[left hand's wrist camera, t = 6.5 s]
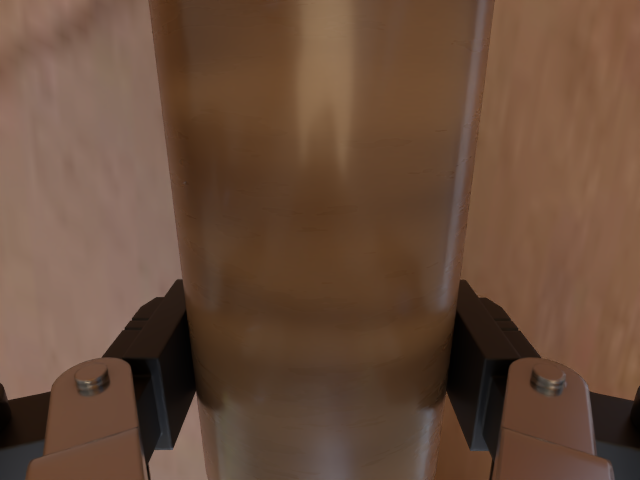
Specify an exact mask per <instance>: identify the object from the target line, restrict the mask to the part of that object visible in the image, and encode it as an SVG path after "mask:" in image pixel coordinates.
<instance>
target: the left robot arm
mask: <svg viewBox="0 0 640 480" xmlns="http://www.w3.org/2000/svg"><path fill="white" fill-rule="evenodd" d="M446 391H447V394H448V396H449V399H450V401H451V404H452V406H453V409H454V411H455V414H456V416H457V419H458V421H459V424H460V426H461V429H462V431H463V434H464V436H465V438H466V441H467V443H468V446H469V448H470V451H489V452H490V454H491V456H492V463H491V469H490V475H489V480H640V386H639V388H638V390H637V393H636V396H635V400H634V401H631V400H626V399H622V398H617V397H612V396H607V395H602V394H598V393H593V392H590V391H589V388H588V385H587V384H586V382H585V381H584V379H583V378H582V377H581V376H580V375H579V374H577V373H576V372H575V371H573V370H572V369H570V368H568V367H566V366H564V365H562V364H560V363H557V362H555V361H551V360H548V359H543V358H541V357H540V355H539V354H538V353H537V352H536V350H535V349H534V348H533V347H532V345H531V344H530V343H529V341H528V340H527V339H526V338H525V336H524V335H523V334H522V333H521V331H518V328H517V326H516V325H515V324H514V322H513V321H511V319H510V317H509V316H508V315H507V314H506V312H505V311H504V310H503V309H502V307H500V306H498V305H497V304H495V303H494V302H492V301H490V300H489V299H487V298H478V296H477V295H476V294H475V292H474V291H473V289H472V288H471V287H470V285H469V284H468V283H467V281H466V280H460V283H459V291H458V299H457V307H456V315H455V323H454V331H453V339H452V347H451V355H450V363H449V371H448V379H447V387H446ZM195 392H196V385H195V377H194V368H193V360H192V352H191V344H190V336H189V327H188V319H187V311H186V303H185V295H184V286H183V279H178V280H176V281H175V283H174V284H173V286H172V287H171V288H170V290H169V291H168V293H167V294H166V295H165V297H156V298H154V299H153V300H151V301H150V302H148V303H147V304H145V305H143V306H142V307H141V308H140V309H139V310H138V311H137V313H136V314H135V315H134V317H133V318H132V321H130V322H129V323H128V324H127V326H126V327H125V330H123V331H122V332H121V333H120V335H119V336H118V337H117V338H116V340H115V341H114V342H113V343H112V345H111V346H110V347H109V349H108V350H107V351H106V352H105V354H104V355H103V356H102V358H97V359H92V360H89V361H85V362H83V363H80V364H78V365H76V366H74V367H72V368H70V369H68V370H67V371H65V372H64V373H63V374H61V375H60V376H59V377H58V378H57V379H56V381H55V382H54V384H53V385H52V388H51V391H50V392H46V393H42V394H37V395H32V396H27V397H22V398H17V399H12V400H8V399H7V396H6V393H5V390H4V387H3V385H2V384H1V383H0V480H151V475H150V469H149V461H150V458H151V456H152V454H153V452H154V450H173V448H174V445H175V443H176V440H177V437H178V435H179V432H180V430H181V427H182V425H183V422H184V420H185V417H186V415H187V412H188V410H189V407H190V405H191V402H192V399H193V397H194V394H195Z"/></svg>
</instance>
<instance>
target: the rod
mask: <svg viewBox="0 0 640 480" xmlns="http://www.w3.org/2000/svg"><path fill="white" fill-rule="evenodd" d="M494 2H495V0H149V7H150V16H151V24H152V32H153V40H154V48H155V57H156V65H157V73H158V81H159V89H160V98H161V106H162V114H163V122H164V131H165V139H166V147H167V155H168V163H169V172H170V180H171V188H172V196H173V204H174V213H175V221H176V229H177V237H178V245H179V254H180V262H181V270H182V278H183V286H184V295H185V303H186V311H187V319H188V327H189V336H190V344H191V352H192V360H193V368H194V377H195V385H196V393H197V401H198V409H199V418H200V426H201V434H202V442H203V450H204V459H205V467H206V473H207V477H208V480H434V477H435V473H436V467H437V459H438V451H439V443H440V435H441V427H442V419H443V411H444V403H445V395H446V387H447V379H448V371H449V363H450V355H451V347H452V339H453V331H454V323H455V315H456V307H457V299H458V291H459V283H460V275H461V267H462V259H463V251H464V243H465V235H466V226H467V218H468V210H469V202H470V194H471V186H472V178H473V170H474V162H475V154H476V146H477V138H478V130H479V122H480V114H481V106H482V98H483V90H484V82H485V74H486V66H487V58H488V50H489V42H490V34H491V26H492V18H493V10H494Z"/></svg>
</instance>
